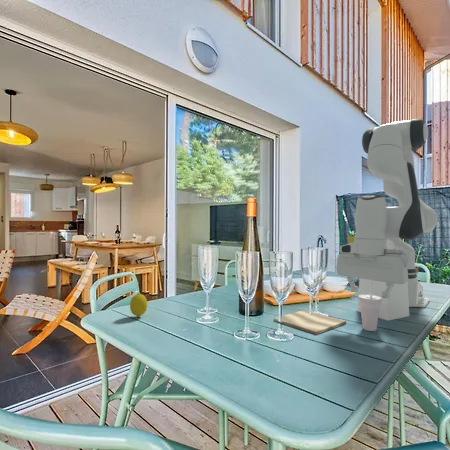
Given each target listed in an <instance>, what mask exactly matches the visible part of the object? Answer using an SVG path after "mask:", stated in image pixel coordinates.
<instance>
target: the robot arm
mask: <svg viewBox="0 0 450 450" xmlns="http://www.w3.org/2000/svg"><path fill="white" fill-rule="evenodd" d="M428 136H429V129H428V126H427V124H426V121H424V120H423V119H422V118H412V119H410V120H408V119H407V120H401V121H400V120H399V121H393V122H391V123H386V124H381V125H379V126H377V127H374V126H373V127H370V128H368V129H366V130H365V131H364V132H363V134H362V136H361V137H362V138H361V145H362V149H363V152H365V153H366V154H367V156H366V157H367V159H366V160H367V161H366V164H367V168H368V170H369V172H370V173H371V174H372V175H374V177H376V178H378V179H381V180H383V181H382V182H383V183H382V184H383V188H382V189H383V192H384V193H385V194H386V195H387V196H388V197H390V198H393V199H395V200H397V202H398V206H387V200H386V196H384V195H381V194H368V195H361V196H359V197H358V198H357V201H356V207H355V213H354V226H355V235H354V236H355V239H354V242H353V243H346V244H343V245H340V246H338V253H339V254H338V255H337V259H336V266H335V267H336V268H335V269H336V271H335V272H336V273H337V274H338V276H343V277H347V280H346V281H347V282H348V285H349V286H350V292H352V293H358V292H359V285H356V283H355V279H356V278H361V279H368V280H374V281H381V282H386V286H388V287H387V289H386V290H385V291H382V297H383V298H389V297H390V291H391V290H392V288H393V287H394V283H395V284H404V283H406V282H407V281H408V299H409V308H411V307H413V308H426V306H427V305H428V304H429V302H430V298H429V297H426V296H424V287H423V285H422V284H421V282H420V281H419V280H418V278H417V277H418V275H417V274H419V268H418V267H417V268H416V266H415V265H416V260H415V259H416V251H415V249H414V247H413V246H412V245H411V244H409V243H407V242H405V241H403V240H409V241H414V240H415V239H417V238H419V237H420V236H423V234H424V233H425V234H426V233H430V232H432V231H433V230H435V228H436V226H437V224H438V214H437V213H436V211H435V210H434V209H433V208H432V207H431V206H429V205H428V204H426V203H425V202H424V201H423V200H422V199H421V197H420V194H419V189H418V182H417V181H418V180H417V178H416V173H415V158H414V153H417V152H418V150H419V149H421V148H422V147H423V146H425V144H426V142H427V140H428ZM413 152H414V153H413ZM387 240H389V241H393V244H394V246H395V249H396V250H397V251H395V250H387Z"/></svg>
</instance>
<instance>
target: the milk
mask: <svg viewBox="0 0 450 450" xmlns="http://www.w3.org/2000/svg"><path fill="white" fill-rule="evenodd" d="M387 250H395V251H397V250H396V249H395V246H394V244H393V241H389V240H387ZM370 283H372V295H375V296H379V297H381V298H382V302H381V303H380V310H379V316H378V319H381V320H385V321H392V320H397V319H402V318H406V317H410V307H409V299H408V281H407V282H406V283H404V284H395V283H394V287H393V288H392V290H391V291H390V297H389V298H383V297H382V291H385V290H386V289H387V287H388V286H386V282H381V281H374V280H368V279H361V278H359V281H358V292H357V293H358V295H357V309H356V311H357V312H358V313H361V308H360V300H359V299H358V298H359V295H370Z"/></svg>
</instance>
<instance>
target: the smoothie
mask: <svg viewBox="0 0 450 450" xmlns="http://www.w3.org/2000/svg"><path fill="white" fill-rule="evenodd" d="M358 299H359V300H360V308H361V312H360V314H361V316H360V317H361V324H362V329H363V330H365V331H368V332H377V329H378V323H379V318H378V316H379V310H380V303H381V302H382V298H381V297H379V296H375V295H372V283H370V295H359V298H358V297H357V300H358Z"/></svg>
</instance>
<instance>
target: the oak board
mask: <svg viewBox="0 0 450 450" xmlns="http://www.w3.org/2000/svg"><path fill="white" fill-rule="evenodd" d="M309 311H310V310H305V309H303V310H299V311H295V312H293V313H292V312H291V313H288V314H285V315H281V316H282V323H281V324H283V325H286V326H288V327H292V328H295V329H298V330H301V331H304V332H307V333H309V334H310V333H311V334H312V335H316V336H317V335H320V334H322V333H324V332H328V331H330V330H332V329H336V328H338V327H340V326H343V325H346V324H347V321H346V320H343V319H339V318H335V317H331V316H328V315H324V314H320V313H317V312H315V311H311V312H312V315H311V316H310V315H309ZM278 317H279V316H278ZM278 317H277V316H276V317H273V322H277V323H279V322H278Z"/></svg>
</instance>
